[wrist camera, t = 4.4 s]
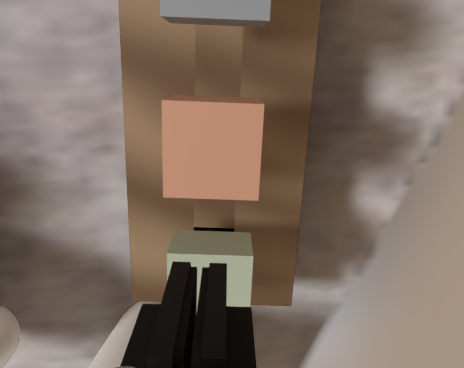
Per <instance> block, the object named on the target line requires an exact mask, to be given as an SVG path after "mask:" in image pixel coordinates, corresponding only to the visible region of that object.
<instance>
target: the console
mask: <svg viewBox="0 0 464 368" xmlns="http://www.w3.org/2000/svg"><path fill="white" fill-rule="evenodd" d="M320 10H321V0H271V8H270V21H269V22H268V23H267V24H266V25H265V26H264V27H247V26H223V25H199V24H175V23H169V22H168V21H166V20H165V19H163V18H162V17H160V0H119V22H120V44H121V66H122V88H123V110H124V131H125V153H126V175H127V197H128V219H129V241H130V263H131V285H132V301H140V302H162V298H163V295H164V291H165V287H166V284H167V251H168V248H169V245H170V242H171V239H172V236H173V233H174V230H190V231H194V227H207V228H234V232H249V233H251V240H252V249H253V271H252V287H251V304H250V305H270V306H291V303H292V293H293V283H294V273H295V263H296V253H297V243H298V233H299V222H300V212H301V202H302V192H303V182H304V172H305V162H306V152H307V141H308V131H309V121H310V111H311V101H312V91H313V81H314V71H315V61H316V50H317V40H318V30H319V20H320ZM170 95H187V96H213V97H238V98H260V99H261V101H262V102H263V103H264V119H263V135H262V151H261V167H260V183H259V199H258V201H251V200H222V199H194V198H165V197H163V163H162V101H161V100H163V99H165V98H166V97H168V96H170Z"/></svg>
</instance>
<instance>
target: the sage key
mask: <svg viewBox="0 0 464 368" xmlns="http://www.w3.org/2000/svg"><path fill="white" fill-rule="evenodd" d="M173 261H175V262H191V267H197V306H198V298H199V291H200V283H201V275H202V268H203V267H209V264H210V263H227V299H226V306H233V307H250V304H251V287H252V271H253V249H252V240H251V233H249V232H227V230H226V228H207V227H204V229H203V231H190V230H174V233H173V236H172V239H171V242H170V245H169V248H168V251H167V280H168V277H169V273H170V269H171V266H172V262H173ZM196 314H197V311H196Z"/></svg>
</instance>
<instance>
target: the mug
mask: <svg viewBox="0 0 464 368" xmlns="http://www.w3.org/2000/svg"><path fill="white" fill-rule="evenodd" d="M19 340H20V327H19V323H18V321H17V319H16V318H15V316H14V315H13V314H12V313H11V312H10V311H9V310H8V309H6V308H5V307H3V306H1V305H0V368H3V367H4V366H5V364H6V363H7V362H8V361H9V360H10V359H11V357H12V355H13V354H14V352H15V350H16V348H17V346H18V343H19Z"/></svg>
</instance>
